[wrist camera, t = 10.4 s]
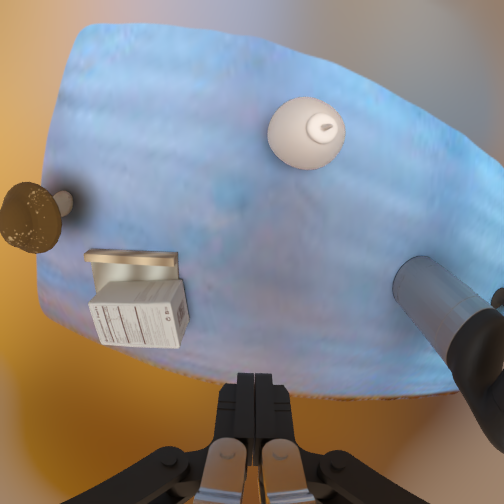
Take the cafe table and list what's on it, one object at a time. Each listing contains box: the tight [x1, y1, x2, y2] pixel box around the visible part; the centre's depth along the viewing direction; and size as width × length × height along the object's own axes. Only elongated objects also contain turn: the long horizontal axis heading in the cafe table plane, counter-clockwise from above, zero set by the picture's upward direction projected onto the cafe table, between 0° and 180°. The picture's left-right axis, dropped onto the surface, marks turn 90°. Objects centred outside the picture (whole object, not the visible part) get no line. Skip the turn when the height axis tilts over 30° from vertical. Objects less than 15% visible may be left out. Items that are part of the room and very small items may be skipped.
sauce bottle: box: [267, 97, 345, 170], centre depth 27 cm, size 8×8×18 cm
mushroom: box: [0, 182, 73, 254], centre depth 31 cm, size 9×11×15 cm
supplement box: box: [88, 280, 189, 348], centre depth 39 cm, size 7×7×13 cm
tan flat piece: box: [84, 249, 179, 294], centre depth 42 cm, size 14×14×2 cm
